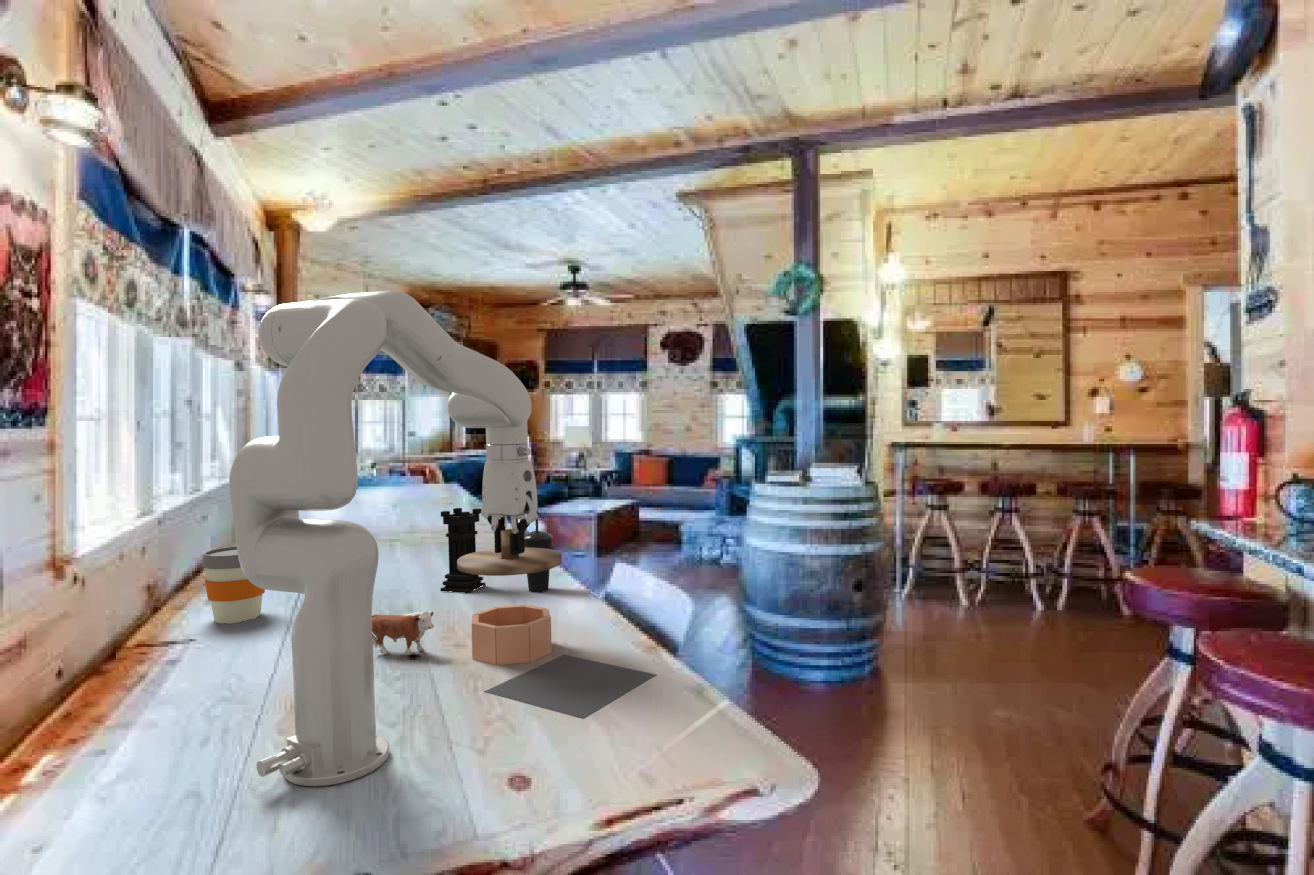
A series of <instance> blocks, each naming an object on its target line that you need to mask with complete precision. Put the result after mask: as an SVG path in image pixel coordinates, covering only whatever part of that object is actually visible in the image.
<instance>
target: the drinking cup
mask: <svg viewBox="0 0 1314 875" xmlns="http://www.w3.org/2000/svg"><path fill="white" fill-rule="evenodd" d="M537 515H538V516H539V510H538V509H537ZM534 522H535V530H533V531H530V532H527V533H524V540H525V547H530V548H544V549H551V550H552V540H553V536H554V535H553V534H552V533H549V532H546V531H543V530H539V518H538V519H537V520H535V521H534ZM550 570H551V569H549V570H545V571H540V572H535V573H529V574H526V577H527V586H528V592H530V591H531V592H530V593H534V592H539V593H544V592H543V591H545V592H547V591H546V590H548V591H549V585H550Z"/></svg>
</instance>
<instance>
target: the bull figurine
mask: <svg viewBox="0 0 1314 875" xmlns="http://www.w3.org/2000/svg"><path fill="white" fill-rule="evenodd" d="M433 615H434V611H432V612H430V613H429V611H426V610H424V611H422V612H421V611H414V612H413V613H407V614H395V615H394V614H372V637H373V647H375V648H379V649H380V653H381V654H383V655H384V656H388V655H390V652H389V651H388V650H387V648H386V647H385V645H384V639H385V636H386V637H388V638H389V639H392V640H393V643H396V642H398V641H397V640H399V639H405V641H406V642H405V643H406V649H405V651H404V653H405V654H406V655H407V656H412V655H413V653H412V650H411V646H412V644H413V642H415V644H416V650H417V651H418V652H424V651H425V649H424V648H423V646H422V645H421V638H422V637H423V636H424V635H425V632H426V631H428V630H432V629H434V627H435V625H434V623H433V622H432V617H433Z"/></svg>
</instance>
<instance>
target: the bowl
mask: <svg viewBox="0 0 1314 875" xmlns="http://www.w3.org/2000/svg"><path fill="white" fill-rule="evenodd" d="M552 648H553V647H552V617H551V612H550V609H549V608H546V607H543V606H542V607H541V606H536V605H529V604H517V605H504V606H503V605H502V606H501V605H500V606H493V607H491V608H487V609H484V610H481V611H478V612H476V613H472V615H471V651H472V652H471V655H472V656H471V657H472V660H474V661H477V662H482V663H486V664H490V665H493V666H494V665H495V666H499V665H510V664H511V665H512V664H514V665H515V664H523V663H531V662H533V661H536V660H538V659H540V658H542V657H544V656H546V655H549V654H551V653H552V650H553V649H552Z"/></svg>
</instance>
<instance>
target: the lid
mask: <svg viewBox="0 0 1314 875" xmlns="http://www.w3.org/2000/svg"><path fill="white" fill-rule="evenodd" d="M510 533H513V532H512V528H508V529H505V530H501V553H495V548H491V549H484V550H479V551H476V552H474V553H470V554H467V555H464V556H462V557H460V558H459V559H458V560H457V569H458V570H460V571H462V572H464V573H468V574H475V575H479V576H490V577H491V576H493V577H496V576H497V577H499V576H517V575H527V574H529V573H535V572H540V571H545V570H549V569H550V570H551V569H554V568H556V567H558V566H560V565H561V564H562V562H563V558H562V557H563V555H562V554H563V553H561V552H560V551H557V550H555V549H552V548H551V549H544V548H530V547H525V552H524V553H521V554H517V555H511V554H510Z"/></svg>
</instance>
